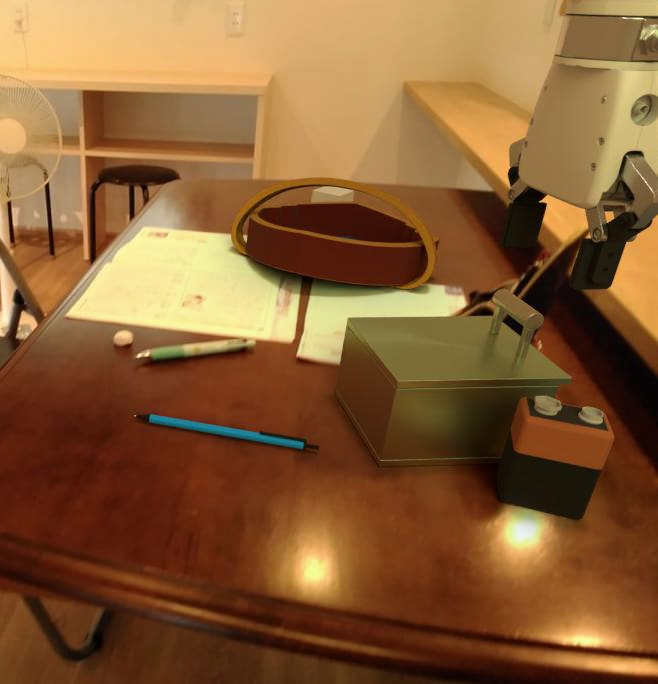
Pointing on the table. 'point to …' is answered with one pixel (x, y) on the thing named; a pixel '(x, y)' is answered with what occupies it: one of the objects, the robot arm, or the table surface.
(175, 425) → the pen
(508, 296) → the bin lid
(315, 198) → the white cube
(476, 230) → the table surface
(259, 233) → the decorative basket
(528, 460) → the battery
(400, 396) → the bin
